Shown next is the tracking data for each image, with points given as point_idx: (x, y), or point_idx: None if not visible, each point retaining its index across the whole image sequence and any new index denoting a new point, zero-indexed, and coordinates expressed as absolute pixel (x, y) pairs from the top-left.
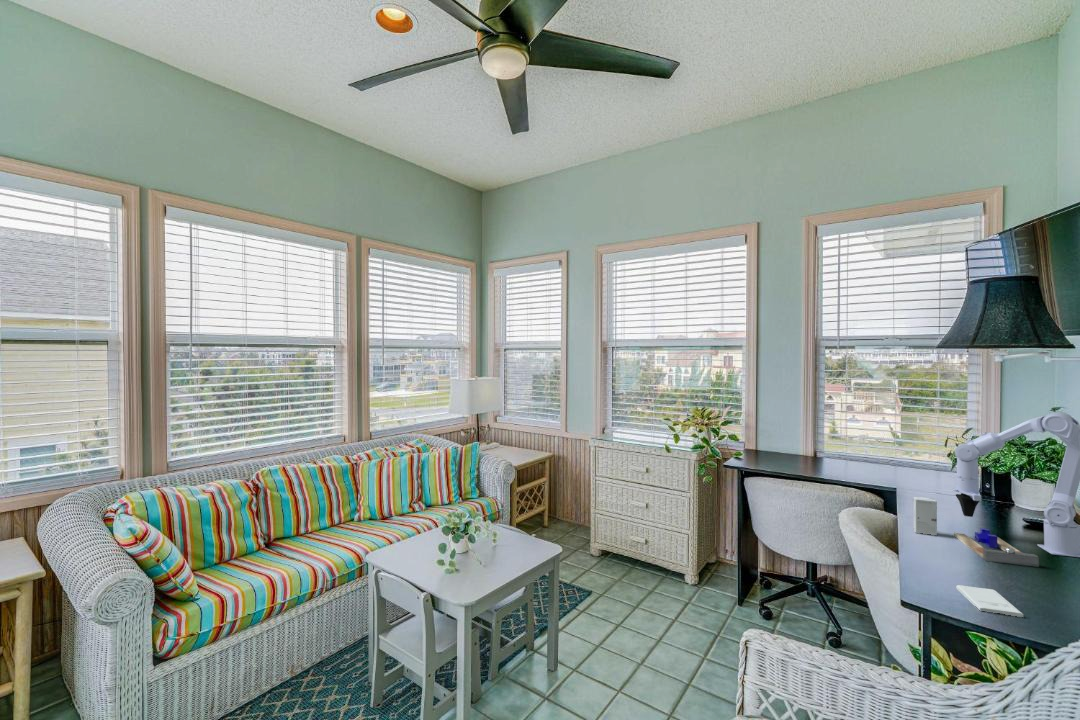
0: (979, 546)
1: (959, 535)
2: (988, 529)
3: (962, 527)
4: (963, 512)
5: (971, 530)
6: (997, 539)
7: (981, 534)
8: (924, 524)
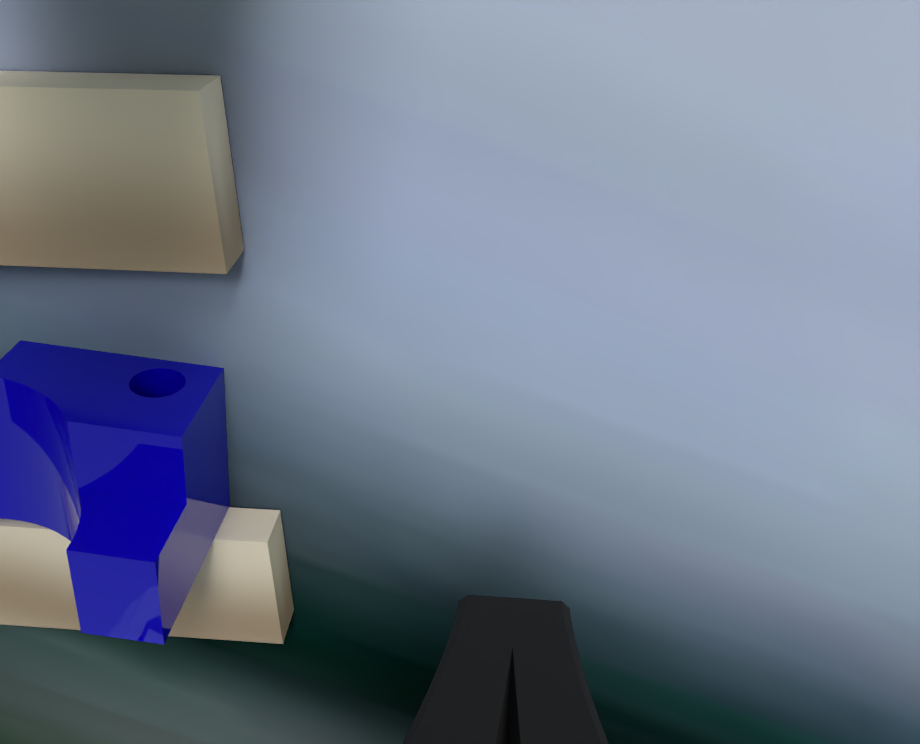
0: None
1: (43, 134)
2: (138, 639)
3: (856, 444)
4: (506, 651)
5: (697, 500)
6: None
7: (71, 474)
8: None
